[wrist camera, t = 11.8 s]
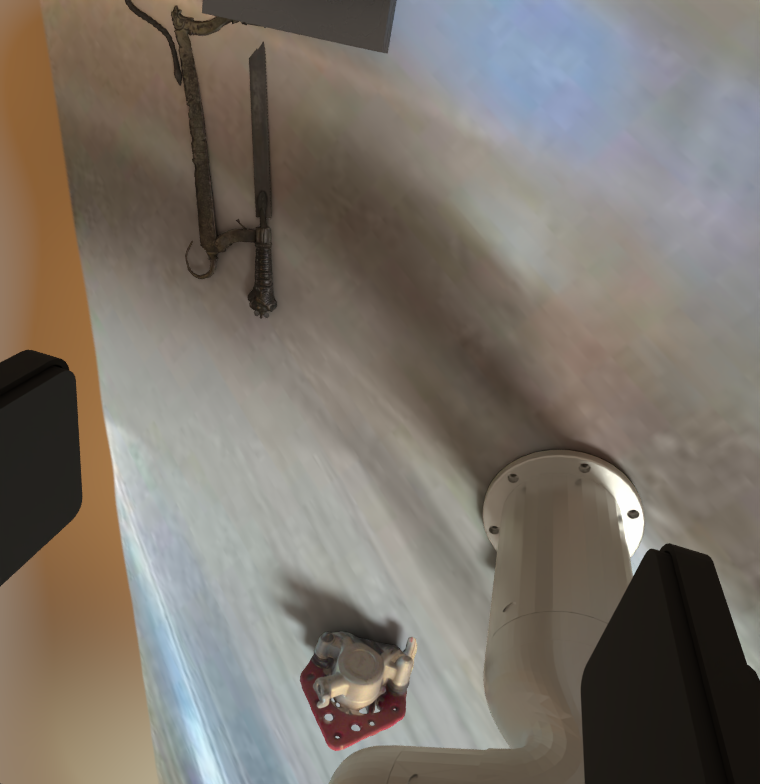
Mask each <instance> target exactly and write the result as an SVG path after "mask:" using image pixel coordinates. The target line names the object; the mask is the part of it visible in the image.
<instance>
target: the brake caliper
mask: <svg viewBox="0 0 760 784" xmlns="http://www.w3.org/2000/svg"><path fill="white" fill-rule="evenodd" d="M416 651H417V643H416V639H415V638H413V637H410V638H409V639H408V642H407V645H406V649H405V650H404V651H403V652H402V651H401V649H400V648H399V647H398V646H396V645H388V644H383V643H379V642H375V641H372V640H369V639H361V638H358V637H356V636H354V635H353V634H351V633H348V632H344V631H339V632H334V633H330V632H324V633H323V634H322V635H321V636H320V637H319V640H318V643H317V645H316V647H315V650H314V655H313V657H312V658H311V660H310V662H309V664H308V665H307V666H306V667H305V669H304V670H303V671H302V673H301V676H300V682H301V685H302V689H303V691H304V693H305V695H306V698H307V700H308V702H309V704H310V707H311V710H312V712H313V714H314V716H315V718H316V721H317V723H318V725H319V727H320V729H321V732H322V734H323V736H324V738H325V741H326V743H327V745H328V746H329V747H330V748H331V749H332V750H335V751H339V750H342V749H345V748H347V747H349V746H351V745H353V744H355V743H357V742H359V741H360V740H362V739H365V738H367V737H369V736H373V735H375V734H377V733H378V732H380V731H382V730H386V729H388V728H390V727H391V726H393V725H394V724H396V723H397V722H398V721H400V720H402V719H403V717H404V716H405V712H406V694H407V688H408V685H409V679H410V674H411V671H412V669H413V663H414V661H413V660H414V656H415V654H416ZM332 698H333V699H334V700H335V702H332V701H331V699H332ZM337 702H338V703H339V704H340V707H337V706H336V703H337ZM375 705H377V708H378V709H379V710H380V712H377V713H374V711H375ZM364 707H365V708H366V710H367V714H361V713H359V710H360V709H362V708H364ZM393 709H396V710H393ZM326 714H332V715H333V720H332V721H327V720H325V718H324V716H325V715H326ZM370 722H374V724H375V725H374V726H371V725H370V724H369V723H370ZM354 724H356V725H358V726H359V727H360V731H353V730H352V729H351V726H352V725H354ZM335 736H339V737H340V738H339V739H337V738H335Z"/></svg>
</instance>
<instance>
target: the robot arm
mask: <svg viewBox="0 0 760 784" xmlns="http://www.w3.org/2000/svg"><path fill="white" fill-rule="evenodd" d="M583 463H586V464H583ZM81 503H82V483H81V464H80V446H79V429H78V412H77V394H76V379H75V376H74V374H73V373H72V372H71V371H69V367H68V365H67V363H66V362H65V361H64V360H62V359H59V358H56V357H53V356H50V355H47V354H43V353H40V352H37V351H33V350H25V351H22V352H20V353H18V354H16V355H14V356H12V357H10V358H8V359H6V360H4V361H2V362H1V363H0V586H1V585H2V584H3V583H4V582H5V581H7V580H8V579H9V578H10V577H11V576H12V575H13V574H14V573H15V572H16V571H17V570H19V569H20V568H21V567H22V566H23V565H24V564H25V563H26V562H27V561H28V560H29V559H30V558H32V557H33V556H34V555H35V554H36V553H37V552H38V551H39V550H40V549H41V548H42V547H43V546H44V545H46V544H47V543H48V542H49V541H50V540H51V539H52V538H53V537H54V536H55V535H56V534H58V533H59V532H60V531H61V530H62V529H63V528H64V527H65V526H66V525H67V524H68V523H69V522H71V520H72V519H73V518H74V517H75V516H76V514H77V513H78V511H79V509H80V507H81ZM483 523H484V528H485V531H486V534H487V536H488V539H489V540H490V542H491V544H492V545H493V547H494V548H495V550H496V551H497V558H496V566H495V575H494V583H493V592H492V601H491V609H490V618H489V626H488V635H487V644H486V652H485V663H484V676H483V681H484V690H485V696H486V700H487V703H488V707H489V710H490V713H491V715H492V717H493V720H494V722H495V724H496V725H497V727H498V729H499V731H500V733H501V735H502V736H503V738H504V739H505V741H506V742H507V744H508V745H509V747H510V748H511V749H493V748H489V749H487V750H474V749H455V748H435V747H416V746H396V745H393V746H373V747H368V748H364V749H361V750H359V751H357V752H354V753H353V754H351V755H350V756H349V757H347V758H346V759H345V760H344V761H343V762H342V763H341V764H340V765H339V767H338V768H337V769H336V771H335V772H334V774H333V776H332V778H331V780H330V782H329V784H760V680H759V678H758V676H757V674H756V672H755V671H754V670H753V669H752V668H751V667H750V666H749V665H747V662H746V659H745V656H744V653H743V650H742V647H741V644H740V641H739V638H738V635H737V632H736V629H735V626H734V623H733V620H732V617H731V614H730V611H729V608H728V605H727V602H726V599H725V596H724V593H723V590H722V587H721V584H720V581H719V578H718V575H717V572H716V569H715V566H714V563H713V561H712V559H711V557H709V556H708V555H706V554H703V553H699V552H696V551H693V550H689V549H686V548H683V547H680V546H676V545H673V544H670V543H669V544H665V545H664V546H663V547H662V548H661V549H660V551H658V550H655V549H649V550H648V551H647V552H646V554H645V555H644V557H643V559H642V561H641V563H640V565H639V567H638V569H637V570H636V572H635V574H634V576H633V573H632V567H631V561H630V558H631V557H632V556H633V554H634V553H635V551H636V550H637V548H638V547H639V545H640V543H641V540H642V537H643V535H644V527H645V517H644V510H643V506H642V502H641V499H640V496H639V494H638V492H637V490H636V489H635V487H634V485H633V484H632V483H631V481H630V480H629V479H628V478H627V477H626V476H625V474H623V473H622V472H621V471H620V470H618V469H617V468H616V467H615V466H613V465H612V464H610V463H608V462H606V461H604V460H602V459H600V458H598V457H595V456H592V455H589V454H586V453H583V452H577V451H571V450H547V451H541V452H535V453H532V454H529V455H526V456H523V457H521V458H519V459H517V460H515V461H514V462H512V463H510V464H509V465H507V466H506V467H505V468H504V469H503V470H501V471H500V472H499V473H498V474H497V476H496V477H495V478H494V479H493V481H492V482H491V484H490V486H489V488H488V490H487V492H486V496H485V500H484V506H483ZM0 784H1V783H0Z"/></svg>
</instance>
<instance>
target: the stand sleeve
mask: <svg viewBox="0 0 760 784" xmlns="http://www.w3.org/2000/svg"><path fill="white" fill-rule="evenodd" d="M396 1H397V0H203V5H202V13H205V14H209V15H214V16H218V17H223V18H227V19H232V20H237V21H241V22H246V23H250V24H255V25H259V26H264V27H268V28H273V29H277V30H282V31H287V32H291V33H296V34H300V35H305V36H309V37H314V38H318V39H323V40H327V41H332V42H337V43H341V44H346V45H350V46H355V47H359V48H364V49H368V50H373V51H377V52H382V53H388V47H389V41H390V36H391V30H392V24H393V18H394V12H395V6H396Z"/></svg>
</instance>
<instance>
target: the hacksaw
mask: <svg viewBox="0 0 760 784" xmlns="http://www.w3.org/2000/svg"><path fill="white" fill-rule="evenodd" d="M125 2H126V4H127V5H128V7H129V9H130V10H132V11H133V12H134V13H135V14H136V15H138V16H139V17H141V18H142V19H143V20H146V21H147V22H148V23H150V24H152V25H153V26H154V27H156V28H157V29H158V30H159V31H161V32H162V33H163V35H165V36H166V38H167V40H168V42H169V46H170V48H171V51H172V55H173V61H174V75H175V78H176V80H177V82H178V84H179V85H181V81H182V74H183V81H184V88H185V94H186V99H187V100H186V101H187V102H188V103H187V105H188V106H189V107H190V110H189V113H188V115H189V118H190V121H189V124H190V132H191V136H192V143H191V145H192V151H193V159H192V160H193V163H194V164H195V176H194V177H195V186H196V197H197V206H198V220H199V231H200V242H201V246H202V247H203V248H204V249H205V250H206V252H207V254H208V256H209V258H208V259H209V260H210V262H211V264H210V270H209V271H208V272H207V273H206V274H203V275H197V274H195V273H193V271H192V270H191V269H190V267H189V264H188V261H187V254H188V251H189V249H190V247H191V245H192V243H193V241H192V242H191V243H190V245H189V247H188V249H187V251H186V255H185V256H186V264H187V267H188V270H189V272H190V273H191V274H192V275H193V276H195V277H196V278H198V279H205V278H209V277H211V276H212V275H213V274H214V271H215V269H216V259H218V257H217V253H219V252H225V251H226V248H227V247H228V246H230V245H232V243H234V242H239V241H242V242H255V246H256V261H255V285H254V287H253V289H252V291H251V292H250V293H249V295H248V300H249V301H250V307H251V308H252V309H253V310H255V311H254V314H255V315H256V316H258V315H260V318H262V315H263V314H264V317H266V318H268V317H269V314H268V313H267V311H271V312H272V311H273V310H274V309H275V308H276V306H277V302H276V300H275V299H274V297H273V283H272V267H271V249H270V248H271V242H270V241H271V230H270V228H267V224H266V218H271V206H270V205H271V203H270V201H271V200H270V176H269V174H270V173H269V171H270V170H269V168H270V167H269V165H270V164H269V148H268V146H269V145H268V143H269V142H268V140H269V139H268V122H267V121H268V119H267V117H268V116H267V114H268V113H267V107H268V106H267V92H266V91H267V89H266V87H267V86H266V83H267V82H266V80H267V79H266V68H265V67H266V64H265V63H266V61H265V59H266V58H265V55H266V54H265V47H264V41H263V43H262V44H261V46H260V48H259V49H258V50H257V49H256V51H255V52H254V53H253V54H252V55H251V57H250V58H249V68H250V90H251V113H252V135H253V158H254V180H255V203H256V217H260V227H256V230H253V229H248V230H247V229H246V228H245V227H244V226H243V225H242V224H241V223H240V221H239V219H238V220H236V221H237V222H238V223H239V224H240V225H241V226H242V227H243V228H244V229H233V230H230V231H228V232H225V233H223V234H221V235H220V236H218V237H217V234H216V227H215V217H214V207H213V200H212V199H213V198H212V188H211V179H210V177H211V176H210V170H209V161H208V152H207V142H206V133H205V123H204V116H203V108H202V102H201V95H200V89H199V84H198V78H197V73H196V70H195V63H194V59H193V54H192V48H191V43H190V39H189V36H188V34H189V35H198V36H205V35H209V34H212V33H214V32H217V31H219V30H220V29H221V28H222V27H223V26H224V25H226V24H228V23H230V22H232V24H234V23H237V22H239V21H237V20H232V19H227V18H223V17H216V18H214V19H212V20H210V21H203V22H202V21H194V20H193V19H194V18H187V17H184V16H183V15H182V14H181V11H182V10H178V6H175V7H174V9H175V10H173V12H171V16H172V21H173V25H174V28H175V29H176V30H175V31H174V32H175V34H176V39H177V42H178V44H179V54H180V60H181V67H182V73H181V70H180V66H179V62H178V58H177V52H176V49H175V45H174V42H173V41H172V37H171V36H170V34H169V33H168V31H167V30H166V29H165V28H163V27H162V25H161V24H158V23H157V21H155V20H153V19H152V18H151V17H149V16H148V15H147V14H146V13H143V12H141V11H140V10H139V9H137V8H136V7H135V6H134V5H133V4H132V2H131V0H125ZM242 24H245V25H247V24H250V23H246V22H242ZM250 25H255V24H250ZM256 26H259V25H256ZM263 27H264V26H263ZM264 28H266V27H264Z"/></svg>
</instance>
